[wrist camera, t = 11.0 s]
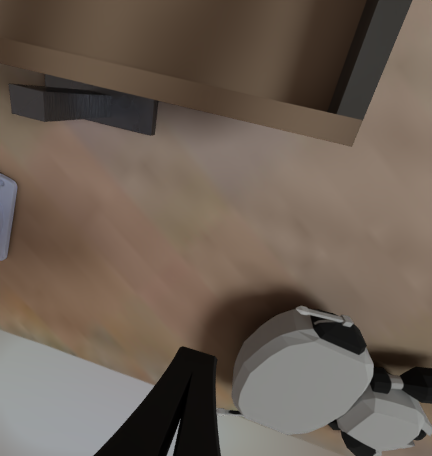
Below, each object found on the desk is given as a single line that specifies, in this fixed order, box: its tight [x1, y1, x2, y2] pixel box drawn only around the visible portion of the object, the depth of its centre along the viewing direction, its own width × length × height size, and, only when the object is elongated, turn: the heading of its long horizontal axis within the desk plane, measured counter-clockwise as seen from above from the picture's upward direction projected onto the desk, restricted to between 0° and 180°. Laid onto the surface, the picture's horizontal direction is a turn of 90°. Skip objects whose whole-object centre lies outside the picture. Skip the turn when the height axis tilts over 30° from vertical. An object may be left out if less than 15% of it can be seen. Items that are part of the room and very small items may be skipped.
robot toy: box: [216, 306, 432, 456], centre depth 21 cm, size 12×4×15 cm
